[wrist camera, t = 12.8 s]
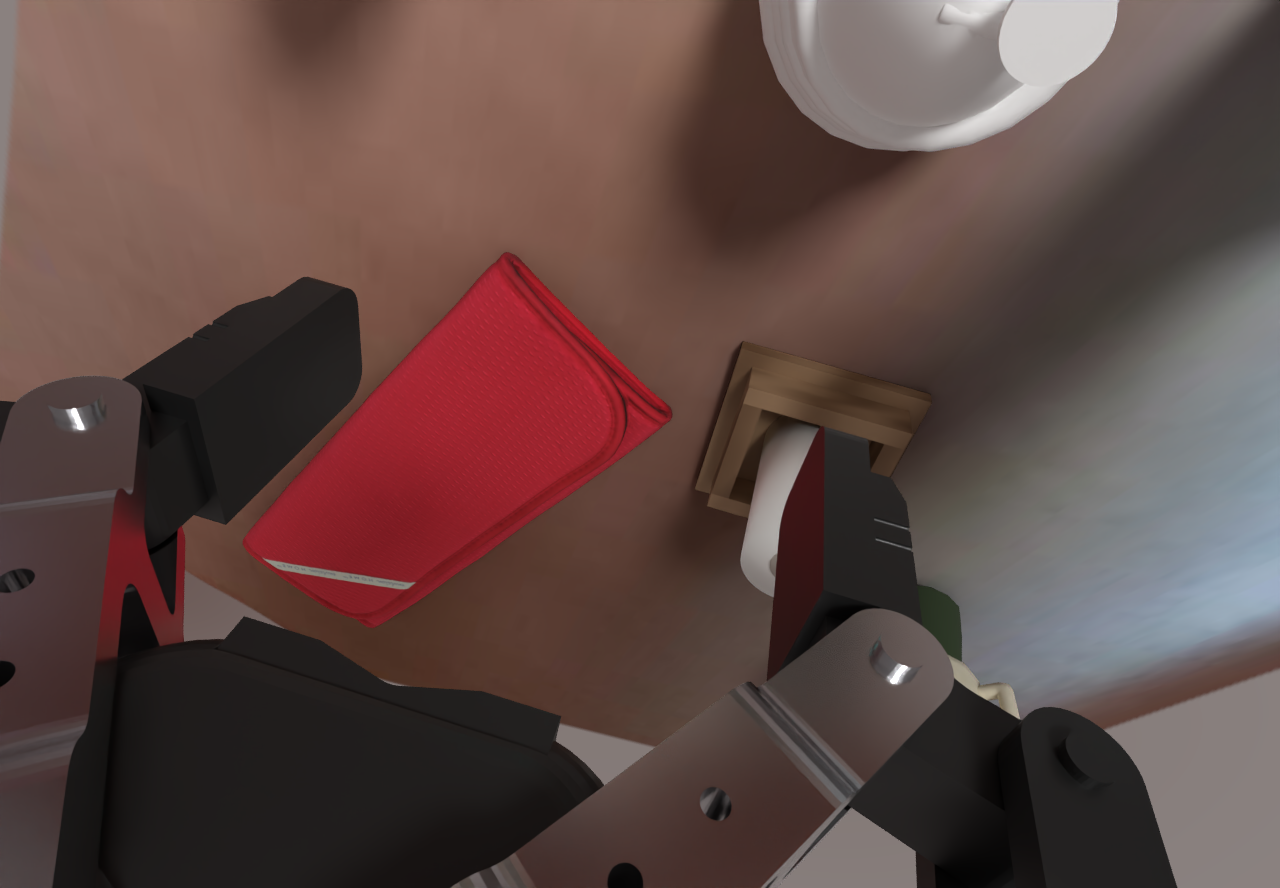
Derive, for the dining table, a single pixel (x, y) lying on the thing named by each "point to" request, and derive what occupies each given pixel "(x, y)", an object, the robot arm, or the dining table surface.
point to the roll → (773, 497)
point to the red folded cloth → (456, 450)
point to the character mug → (958, 646)
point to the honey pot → (929, 63)
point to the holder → (800, 418)
